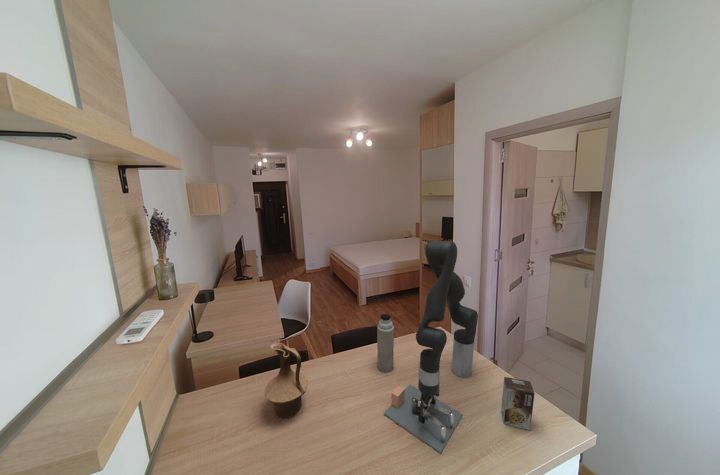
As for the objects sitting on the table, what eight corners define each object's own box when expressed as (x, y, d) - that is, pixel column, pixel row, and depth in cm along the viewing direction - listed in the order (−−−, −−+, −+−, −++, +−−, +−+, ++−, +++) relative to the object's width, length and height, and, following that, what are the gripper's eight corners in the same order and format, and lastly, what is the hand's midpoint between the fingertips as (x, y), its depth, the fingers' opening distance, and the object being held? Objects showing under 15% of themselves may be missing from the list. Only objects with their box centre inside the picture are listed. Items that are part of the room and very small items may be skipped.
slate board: (409, 386, 120) (409, 384, 120) (462, 415, 105) (462, 414, 105) (383, 414, 106) (383, 412, 106) (440, 454, 90) (440, 452, 90)
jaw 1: (420, 414, 104) (420, 402, 103) (421, 411, 106) (422, 399, 105) (452, 429, 98) (453, 417, 97) (453, 425, 100) (454, 413, 99)
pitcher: (317, 399, 114) (314, 340, 108) (292, 432, 99) (287, 366, 93) (285, 386, 121) (281, 331, 115) (257, 416, 106) (250, 354, 100)
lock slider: (391, 404, 110) (391, 392, 108) (398, 396, 113) (398, 385, 112) (397, 408, 108) (397, 396, 106) (404, 400, 111) (404, 389, 110)
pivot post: (410, 412, 106) (411, 399, 104) (413, 409, 107) (413, 396, 106) (414, 415, 104) (415, 401, 103) (417, 412, 106) (417, 399, 104)
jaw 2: (415, 419, 102) (415, 407, 101) (418, 416, 104) (418, 404, 102) (443, 443, 93) (443, 430, 92) (446, 440, 94) (447, 427, 93)
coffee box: (526, 416, 104) (530, 381, 101) (530, 431, 98) (535, 393, 95) (500, 410, 107) (504, 375, 104) (503, 424, 101) (507, 387, 98)
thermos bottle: (393, 362, 136) (394, 312, 130) (392, 373, 128) (393, 320, 123) (378, 361, 138) (378, 311, 132) (376, 371, 130) (376, 319, 124)
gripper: (428, 363, 106) (427, 398, 109) (410, 383, 95) (408, 421, 98) (446, 372, 101) (444, 408, 104) (429, 394, 90) (427, 433, 93)
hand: (427, 414), depth 101 cm, fingers open, 8 cm apart
